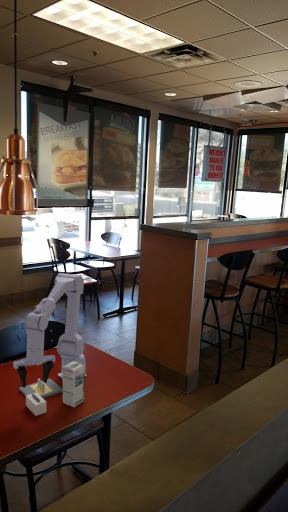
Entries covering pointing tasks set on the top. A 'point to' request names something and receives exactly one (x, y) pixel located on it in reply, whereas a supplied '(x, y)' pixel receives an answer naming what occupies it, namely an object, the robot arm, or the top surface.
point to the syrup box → (73, 383)
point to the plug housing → (36, 404)
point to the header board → (42, 388)
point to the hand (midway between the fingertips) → (34, 384)
